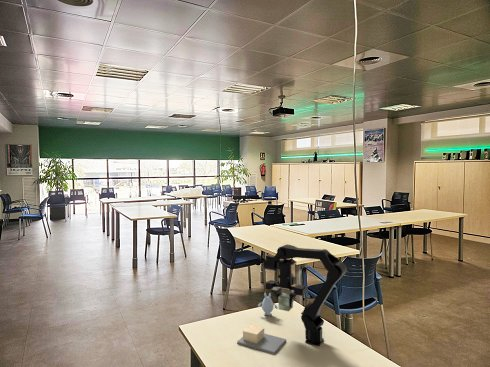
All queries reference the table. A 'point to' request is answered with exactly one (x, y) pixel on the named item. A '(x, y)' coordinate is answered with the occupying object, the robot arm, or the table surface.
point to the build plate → (260, 340)
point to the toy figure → (267, 305)
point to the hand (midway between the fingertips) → (285, 305)
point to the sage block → (284, 302)
